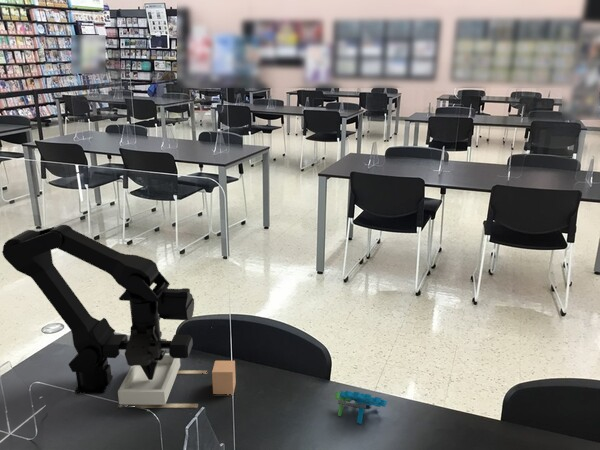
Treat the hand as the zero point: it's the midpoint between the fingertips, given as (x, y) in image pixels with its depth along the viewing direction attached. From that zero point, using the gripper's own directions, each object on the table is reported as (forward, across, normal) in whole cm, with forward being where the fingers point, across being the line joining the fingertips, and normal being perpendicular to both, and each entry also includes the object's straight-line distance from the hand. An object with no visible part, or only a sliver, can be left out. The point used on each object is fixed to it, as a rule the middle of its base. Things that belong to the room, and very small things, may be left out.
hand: (151, 378), depth 115 cm
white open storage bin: (+2, 0, 0) cm, 2 cm away
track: (+2, +3, 0) cm, 4 cm away
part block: (+3, +16, 0) cm, 17 cm away
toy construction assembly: (+3, +46, -8) cm, 47 cm away
